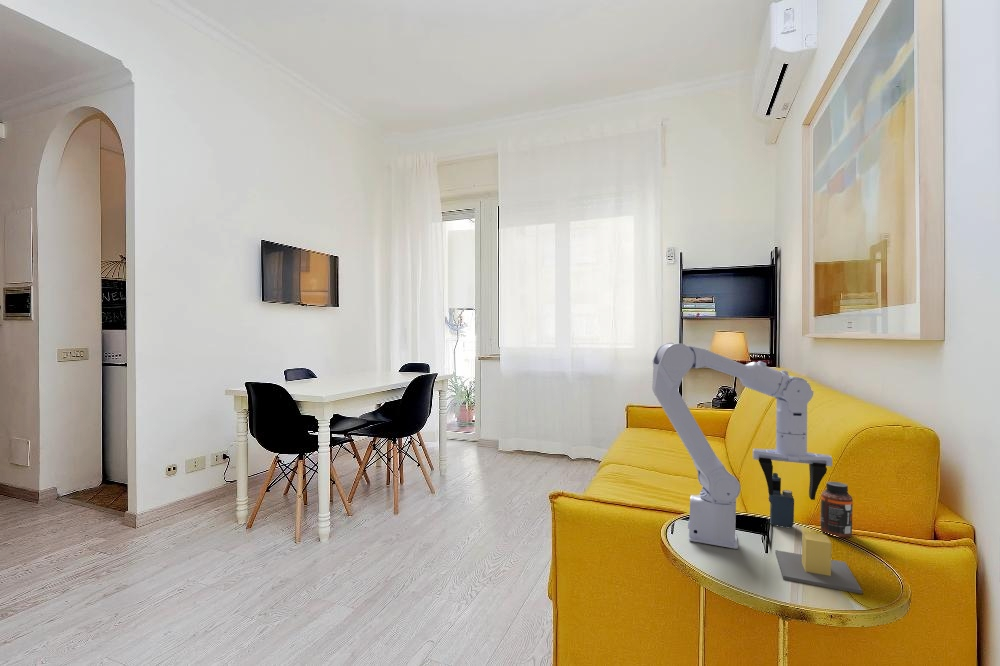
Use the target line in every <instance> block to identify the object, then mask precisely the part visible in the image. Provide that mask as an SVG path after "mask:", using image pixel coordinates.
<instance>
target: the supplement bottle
mask: <svg viewBox="0 0 1000 666" xmlns="http://www.w3.org/2000/svg"><path fill="white" fill-rule="evenodd" d="M825 487H826V489H825V490H823V491H822V492H821V494H820V495H821V496H820V530H821V532H823V533H824V532H826V533H829V534H832V535H836V536H839V537H838V538H841V537H842V538H843V539H844V538H845V539H846V538H850V537H852V535H853V534H852V533H853V505H854V502H853V496H851V494H849V490H848V489H849V488H848V484H846V483H843V482H838V481H827V482H826V486H825ZM826 533H825V534H826Z"/></svg>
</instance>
